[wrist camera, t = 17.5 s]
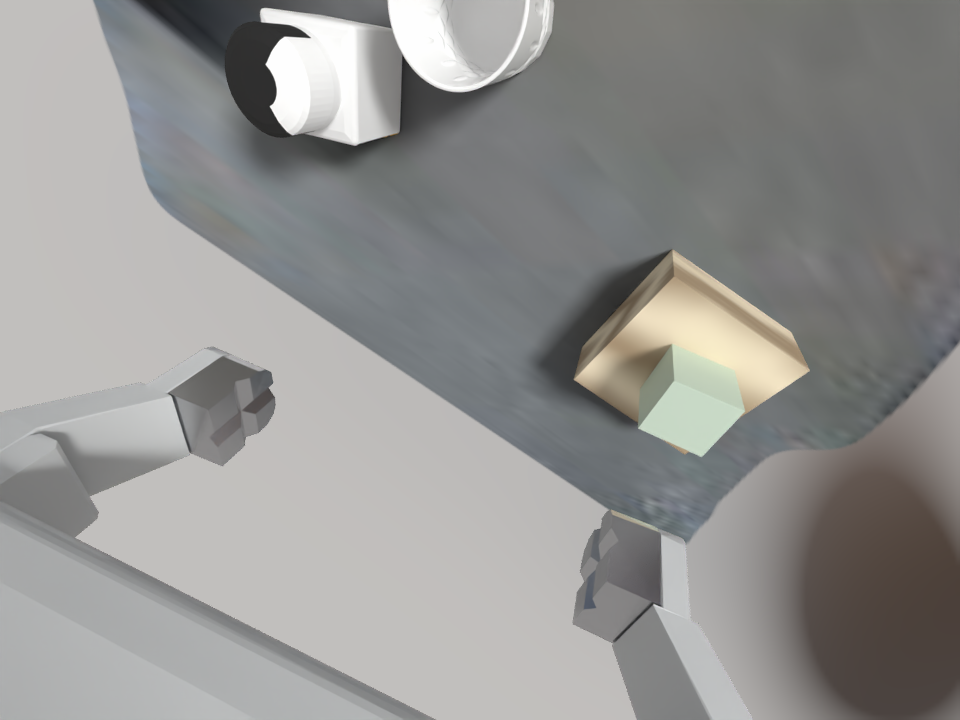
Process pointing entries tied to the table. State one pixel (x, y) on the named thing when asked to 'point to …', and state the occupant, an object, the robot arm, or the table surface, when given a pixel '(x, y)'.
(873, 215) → the table surface
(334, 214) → the table surface
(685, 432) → the sage cube
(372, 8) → the table surface
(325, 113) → the medicine bottle
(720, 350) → the beech block
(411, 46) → the white cup
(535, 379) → the table surface
